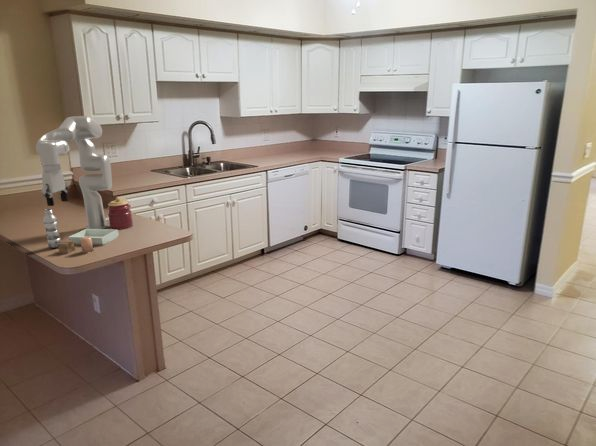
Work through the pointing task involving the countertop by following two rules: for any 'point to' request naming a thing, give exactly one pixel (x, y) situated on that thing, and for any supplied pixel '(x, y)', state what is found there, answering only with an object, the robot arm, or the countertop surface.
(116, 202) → the canister
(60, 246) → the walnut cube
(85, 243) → the tan rounded-top part
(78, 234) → the box
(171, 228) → the countertop surface
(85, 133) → the robot arm
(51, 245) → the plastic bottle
